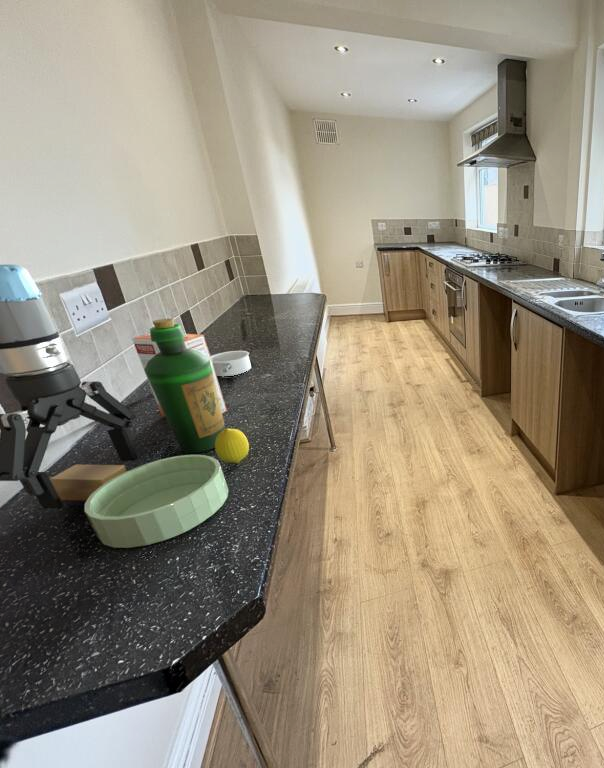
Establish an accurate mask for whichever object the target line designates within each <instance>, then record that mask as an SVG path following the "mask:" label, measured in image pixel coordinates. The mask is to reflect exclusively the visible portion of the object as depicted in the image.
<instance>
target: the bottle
mask: <svg viewBox="0 0 604 768" xmlns="http://www.w3.org/2000/svg"><path fill="white" fill-rule="evenodd" d="M174 321H175V320H174V318H160V319H155V320H152V322H151V323H152V325H154V326H153V327H150V328H149V333H150V335H151V341H152V342H156V344H157V346H158V348H159V350H160V352H159V353H158V354H156V355H155V356H154V357H153V358H152V359H150V360H149V361H148V363H147V365H146V367H145V369H144V368H143V371H144V374H145V373H146V374H145V375H147V376H146V378H147V377H148V379H149V382H150V384H151V386H152V388H153V390H154V393H155V395H156V397H157V399H158V401H159V403H160V406H161V408H162V410H163V412H164V414H165V416H166V417H165V418H166V421H167V423H168V425H169V427H170V430H171V431H172V434H173V436H174V438H175V441H176V443H177V444H178V447H179V449H180V450H181V451H182V453H190V454H196V453H197V454H198V453H204V452H208V451H210V450H213V449H215V440H216V437H217V436H218V434H219V433H221V432H222V431H224V430H225V429H226V424H225V420H224V415H223V414H222V411H221V407H220V403H219V398H218V394H217V390H216V385H215V381H214V377H213V372H212V368H211V364H210V360H209V359H208V358H207V357H205V356H204V355H203V354H201V353H200V352H198V351H195V350H192V349H189V348H185V345H184V340H183V338H184V337H185V336H186V335H185V334H186V333H185V332H184V330H183V328H182V327H181V325H180V324H177V323H175V322H174ZM148 379H147V380H148ZM149 382H148V383H149ZM150 384H149V385H150Z"/></svg>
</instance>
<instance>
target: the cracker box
mask: <svg viewBox="0 0 604 768" xmlns="http://www.w3.org/2000/svg"><path fill="white" fill-rule="evenodd" d="M185 335H186V336H185V337H184V338H183V340H184V345H185V348H189V349H192V350H195V351H198V352H200V353H201V354H203V355H204V356H205V357H207V358H208V359H209V360H210V364H211V368H212V372H213V377H214V381H215V385H216V390H217V394H218V398H219V403H220V407H221V411H222V415H223V414H225V413H227V412H228V408H227V405H226V403H225V399H224V396H223V393H222V390H221V387H220V383H219V380H218V376H216V373H215V370H214V367H213V364H212V360H211V357H210V356H211V354H210V351H209V348H208V344H207V341H206V338H205V335H204V334H197V333H196V334H195V333H185ZM131 340H132V343H133V345H134V348H135V350H136V353H137V356H138V358H139V360H140V363H141V365H142V368H143V370H144V369H145V367H146V365H147V363H148V361H149V360H150V359H152V358H153V357H154V356H155V355H156V354H158V353H159V352H160V350H159V348H158V346H157V344H156V342H152V341H151V335H150V332H149V333H146V334H141V335H138V336H135V337H133V338H132V339H131ZM144 374H145V375H146V373H145V372H144ZM146 379H147V381H148V384H149V387H150V389H151V392H152V394H153V397H154V400H155V402H156V405H157V408H158V410H159V413H160V415H161V417H162V418H166V416H165V414H164V412H163V410H162V408H161V406H160V403H159V401H158V399H157V397H156V395H155V393H154V390H153V388H152V386H151V384H150V382H149V379H148V377H147V375H146Z"/></svg>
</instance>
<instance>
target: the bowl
mask: <svg viewBox="0 0 604 768" xmlns="http://www.w3.org/2000/svg"><path fill="white" fill-rule="evenodd" d="M126 471H127V472H125V473H123V474H121V475H119V476H117V477H115V478H113V479H111V480H110V481H108V482H106V483H105V484H103V485H102V486H100V487H99V488H98V489H97V490H96V491H94V492H93V493H92V494H91V495H90V496H89V498H88V499H87V501H86V502H85V506H83V507H84V510H83V512H84V514H85V516H86V518H87V519H88V521H89V523H90V525H91V528H92V529H93V531H94V533H95V535H96V537H97V539H98V540H99V541H100V542H101V543H102V544H103V546H107V547H110V548H116V549H117V548H118V549H130V548H136V547H137V548H138V547H144V546H148V545H152V544H156V543H160V542H163V541H166V540H167V541H168V540H170V539H172V538H175V537H178V536H179V535H181V534H184V533H186V532H188V531H190V530H192V529H193V528H195V527H197V526H199V525H200V524H202V523H203V522H204V521H206V520H207V519H209V518H210V517H212V516H213V515H214V514H215V513H216V512H217V511H218V510H219V509H221V508H222V507H223V505H224V503H225V502H226V500H227V499H228V497H229V487H228V484H227V481H226V478H225V475H224V472H223V469H222V466H221V464H220V462H219V460H218V459H216V458H215V457H213V456H209V455H205V454H185V455H175V456H171V457H166V458H162V459H157V460H154V461H151V462H148V463H145V464H142V465H139V466H136V467H135V468H131V469H130V470H126Z"/></svg>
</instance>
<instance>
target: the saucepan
mask: <svg viewBox="0 0 604 768" xmlns="http://www.w3.org/2000/svg"><path fill="white" fill-rule="evenodd" d="M249 355H250V352H249V351H247V350H232V351H231V350H229V351H224V352H219V353H215V354H213V355H210V357H211V360H212V364H213V367H214V370H215V373H216V376H217V377H218V376H222V377H221V378H225V377H224V376H234V375H238V374H241V373H244V372H246V371H247V372H248V371H249V370H251V369H252V365H251V360H250V356H249ZM247 372H246V373H247ZM244 374H245V373H244ZM238 376H239V375H238ZM234 377H235V376H234Z"/></svg>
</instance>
